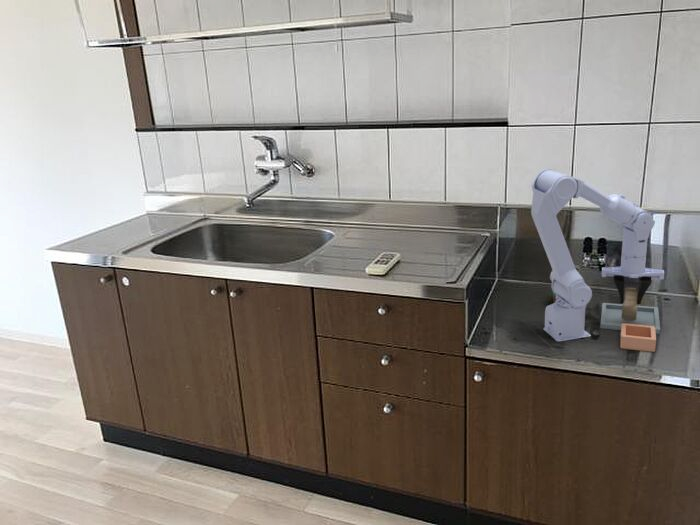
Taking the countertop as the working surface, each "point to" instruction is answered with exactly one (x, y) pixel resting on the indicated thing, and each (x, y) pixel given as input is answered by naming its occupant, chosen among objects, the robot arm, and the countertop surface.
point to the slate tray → (613, 320)
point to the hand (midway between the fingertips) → (629, 302)
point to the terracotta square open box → (638, 337)
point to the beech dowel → (630, 304)
